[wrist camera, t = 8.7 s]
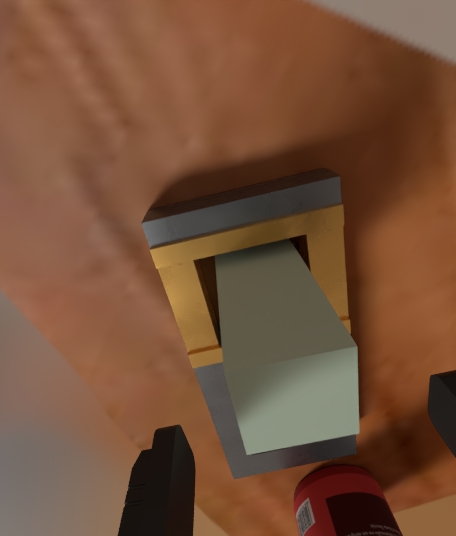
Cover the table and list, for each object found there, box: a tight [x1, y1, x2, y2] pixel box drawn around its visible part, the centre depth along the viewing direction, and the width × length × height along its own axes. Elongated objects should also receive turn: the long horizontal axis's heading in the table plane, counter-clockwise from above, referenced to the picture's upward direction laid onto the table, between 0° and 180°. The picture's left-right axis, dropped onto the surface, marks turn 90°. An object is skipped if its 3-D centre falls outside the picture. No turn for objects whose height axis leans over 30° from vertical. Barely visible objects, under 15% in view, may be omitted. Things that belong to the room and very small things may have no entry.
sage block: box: [215, 238, 359, 455], centre depth 15 cm, size 4×4×9 cm
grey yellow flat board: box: [141, 168, 357, 479], centre depth 20 cm, size 9×20×2 cm, turn 12°
